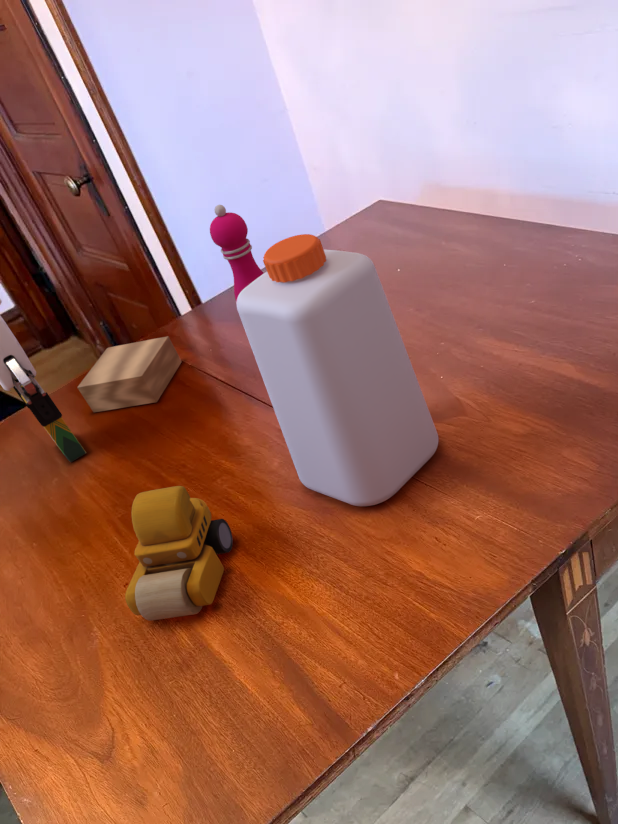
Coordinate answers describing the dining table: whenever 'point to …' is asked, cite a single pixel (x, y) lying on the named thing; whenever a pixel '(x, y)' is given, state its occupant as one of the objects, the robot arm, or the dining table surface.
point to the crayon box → (64, 439)
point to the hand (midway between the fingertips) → (45, 411)
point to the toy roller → (175, 554)
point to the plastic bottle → (337, 371)
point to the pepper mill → (235, 247)
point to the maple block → (130, 374)
